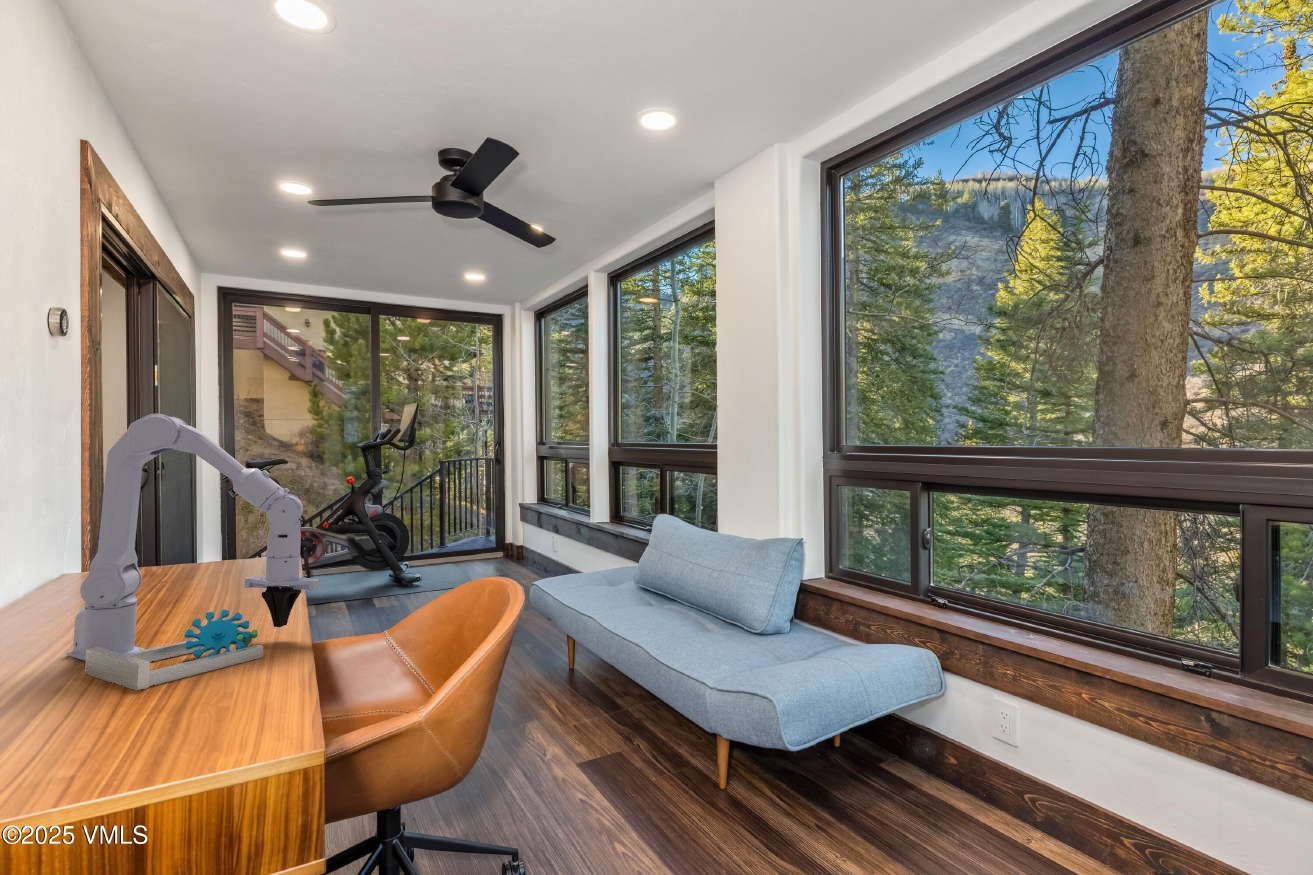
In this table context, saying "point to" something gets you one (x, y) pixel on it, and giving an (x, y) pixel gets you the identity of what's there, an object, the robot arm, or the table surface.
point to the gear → (219, 634)
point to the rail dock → (136, 665)
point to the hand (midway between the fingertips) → (280, 625)
